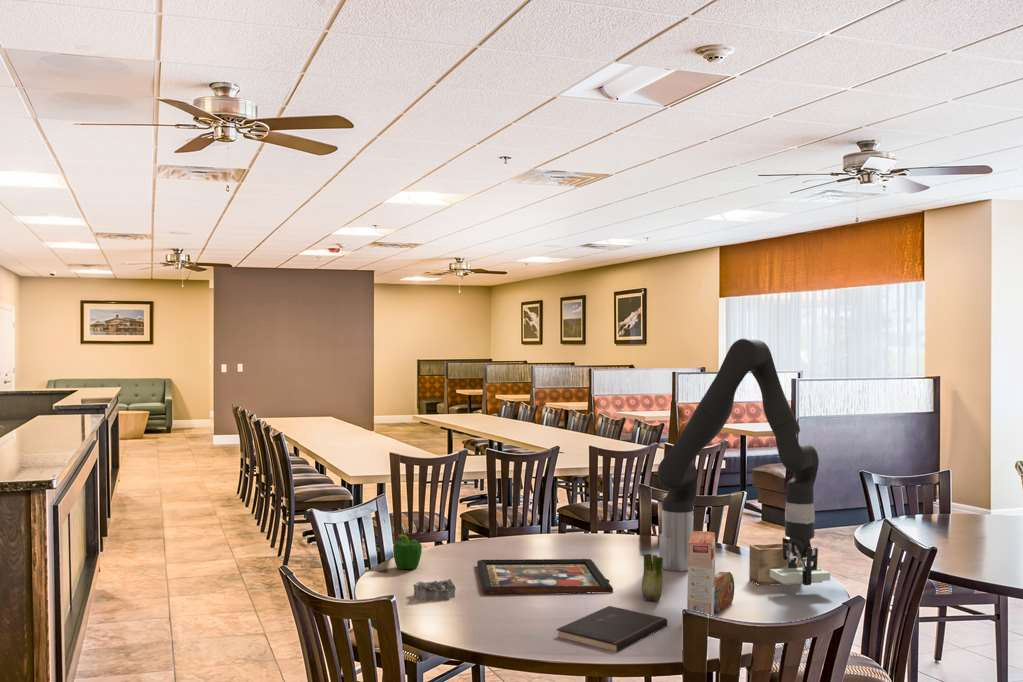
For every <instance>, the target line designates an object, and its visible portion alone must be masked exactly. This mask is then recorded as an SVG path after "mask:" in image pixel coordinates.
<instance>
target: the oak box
mask: <svg viewBox="0 0 1023 682" xmlns="http://www.w3.org/2000/svg"><path fill="white" fill-rule="evenodd" d="M787 553H788V551H787ZM748 556H749V561H748V563H749V568H748V569H749V570H748V571H749V572H748V575H749V579H748V580H749V581H750V580H751V581H750V582H752V581H753V582H752V583H754V582H755V583H757V584H759V585H762V586H771V585H770V584H780V585H784V584H783V583H781V582H779V581H777V580H775V579H773V578H771V577H770V569H784V568H788V564H787V561H786V560H784V559H783V542H780V543H779V542H778V543H761V544H760V543H759V544H749V555H748ZM795 564H797V568H802V565H801V563H800V562H799V560H797V563H795ZM755 583H754V584H755ZM757 584H756V585H757ZM759 585H758V586H759Z"/></svg>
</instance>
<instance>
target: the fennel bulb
mask: <svg viewBox="0 0 1023 682" xmlns="http://www.w3.org/2000/svg"><path fill="white" fill-rule="evenodd" d="M662 564H663V557H659V555H657V554H652V553H643V575H642V578H641V594H642V597H643V598H644V599H645V600H647V601H650V602H653V601H654V602H655V601H656V602H657V601H660V600H661V598H662V594H663V587H664V585H663V584H664V577H663V574H664V573H663V568H662Z"/></svg>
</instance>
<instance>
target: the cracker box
mask: <svg viewBox="0 0 1023 682" xmlns="http://www.w3.org/2000/svg"><path fill="white" fill-rule="evenodd" d="M715 575H716V533H715V532H711V531H704V530H703V531H700V530H693V531H692V534H691V537H690V540H689V543H688V570H687V597H686V598H687V599H686V600H687V604H686V605H687V606H686V607H687V609H686V611H687V610H693V611H699V612H703V613H707V614H709V615H712V616H714V615H715V612H714V589H715Z"/></svg>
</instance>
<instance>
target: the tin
mask: <svg viewBox="0 0 1023 682" xmlns="http://www.w3.org/2000/svg"><path fill="white" fill-rule="evenodd" d="M734 597H735V579H734V577H733V573H731V571H728V572H727V571H719V572H717V573H715V589H714V613H722V612H723V611H724V610H725V609H727V608H728V607H729V606H731V605H732V603H733V600H734Z"/></svg>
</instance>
